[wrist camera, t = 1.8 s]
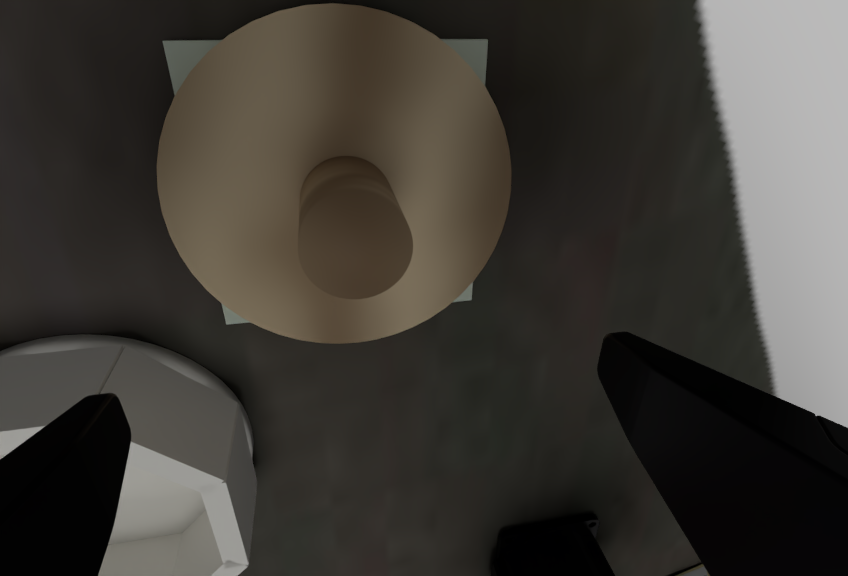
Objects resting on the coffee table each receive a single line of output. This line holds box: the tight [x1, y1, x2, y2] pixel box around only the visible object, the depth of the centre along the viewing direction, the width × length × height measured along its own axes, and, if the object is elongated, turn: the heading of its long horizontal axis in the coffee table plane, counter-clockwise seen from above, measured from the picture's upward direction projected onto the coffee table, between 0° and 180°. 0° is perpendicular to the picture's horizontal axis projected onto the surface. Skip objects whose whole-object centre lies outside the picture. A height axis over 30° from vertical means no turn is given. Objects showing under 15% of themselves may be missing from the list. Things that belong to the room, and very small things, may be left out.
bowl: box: [0, 334, 257, 576], centre depth 20 cm, size 12×12×5 cm
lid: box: [157, 3, 512, 344], centre depth 16 cm, size 12×12×5 cm
